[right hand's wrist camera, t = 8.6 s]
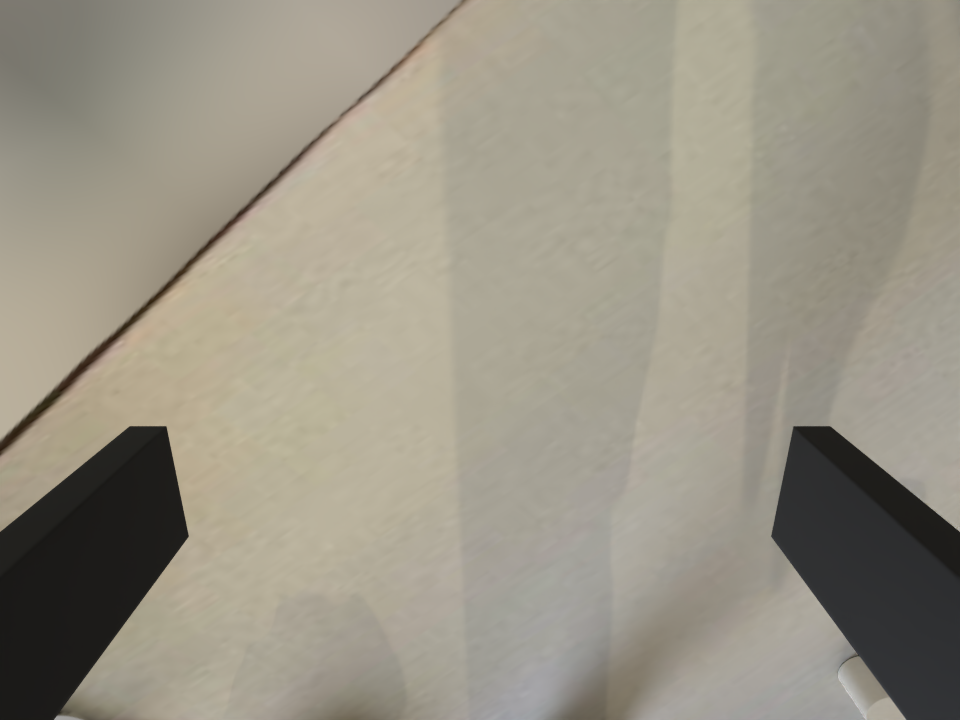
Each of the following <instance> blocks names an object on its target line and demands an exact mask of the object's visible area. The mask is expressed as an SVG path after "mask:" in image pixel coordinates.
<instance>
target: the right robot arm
mask: <svg viewBox="0 0 960 720" xmlns="http://www.w3.org/2000/svg"><path fill="white" fill-rule="evenodd" d="M188 537H189V535H188V531H187V526H186V521H185V516H184V511H183V506H182V501H181V496H180V491H179V486H178V481H177V476H176V471H175V466H174V462H173V457H172V452H171V447H170V442H169V437H168V432H167V427H166V426H130V427H128V428H127V429H126V430H125V431H124V432H122V433H121V434H120V435H119V436H117V437H116V438H115V439H114V440H112V441H111V442H110V443H109V444H108V445H106V446H105V447H104V448H103V449H101V450H100V451H99V452H98V453H97V454H95V455H94V456H93V457H92V458H90V459H89V460H88V461H87V462H85V463H84V464H83V465H82V466H81V467H79V468H78V469H77V470H76V471H74V472H73V473H72V474H71V475H70V476H68V477H67V478H66V479H65V480H63V481H62V482H61V483H60V484H59V485H57V486H56V487H55V488H54V489H52V490H51V491H50V492H49V493H47V494H46V495H45V496H44V497H43V498H41V499H40V500H39V501H38V502H36V503H35V504H34V505H33V506H32V507H30V508H29V509H28V510H27V511H25V512H24V513H23V514H22V515H20V516H19V517H18V518H17V519H16V520H14V521H13V522H12V523H11V524H9V525H8V526H7V527H6V528H5V529H3V530H2V531H1V532H0V720H54V719H55V717H56V716H57V715H58V713H59V712H60V711H61V709H62V708H63V707H64V705H65V704H66V702H67V701H68V700H69V698H70V697H71V696H72V694H73V693H74V692H75V690H76V689H77V688H78V686H79V685H80V683H81V682H82V681H83V679H84V678H85V677H86V675H87V674H88V673H89V671H90V670H91V669H92V667H93V666H94V664H95V663H96V662H97V660H98V659H99V658H100V656H101V655H102V654H103V652H104V651H105V650H106V648H107V647H108V645H109V644H110V643H111V641H112V640H113V639H114V637H115V636H116V635H117V633H118V632H119V630H120V629H121V628H122V626H123V625H124V624H125V622H126V621H127V620H128V618H129V617H130V616H131V614H132V613H133V611H134V610H135V609H136V607H137V606H138V605H139V603H140V602H141V601H142V599H143V598H144V597H145V595H146V594H147V592H148V591H149V590H150V588H151V587H152V586H153V584H154V583H155V582H156V580H157V579H158V578H159V576H160V575H161V573H162V572H163V571H164V569H165V568H166V567H167V565H168V564H169V563H170V561H171V560H172V559H173V557H174V556H175V554H176V553H177V552H178V550H179V549H180V548H181V546H182V545H183V544H184V542H185V541H186V539H187V538H188ZM771 537H772V538H773V539H774V541H775V542H776V544H777V545H778V546H779V548H780V549H781V550H782V552H783V553H784V554H785V556H786V557H787V559H788V560H789V561H790V563H791V564H792V565H793V567H794V568H795V569H796V571H797V572H798V573H799V575H800V576H801V578H802V579H803V580H804V582H805V583H806V584H807V586H808V587H809V588H810V590H811V591H812V592H813V594H814V595H815V597H816V598H817V599H818V601H819V602H820V603H821V605H822V606H823V607H824V609H825V610H826V611H827V613H828V614H829V616H830V617H831V618H832V620H833V621H834V622H835V624H836V625H837V626H838V628H839V629H840V630H841V632H842V633H843V635H844V636H845V637H846V639H847V640H848V641H849V643H850V644H851V645H852V647H853V648H854V650H855V651H856V652H857V654H858V655H859V656H860V658H861V659H862V660H863V662H864V663H865V664H866V666H867V667H868V669H869V670H870V671H871V673H872V674H873V675H874V677H875V678H876V679H877V681H878V682H879V683H880V685H881V686H882V688H883V689H884V690H885V692H886V693H887V694H888V696H889V697H890V698H891V700H892V701H893V702H894V704H895V705H896V707H897V708H898V709H899V711H900V712H901V713H902V715H903V716H904V717H905V719H906V720H960V532H959V531H958V530H957V529H955V528H954V527H953V526H952V525H951V524H949V523H948V522H947V521H946V520H944V519H943V518H942V517H941V516H940V515H938V514H937V513H936V512H935V511H933V510H932V509H931V508H930V507H928V506H927V505H926V504H925V503H924V502H922V501H921V500H920V499H919V498H917V497H916V496H915V495H914V494H913V493H911V492H910V491H909V490H908V489H906V488H905V487H904V486H903V485H901V484H900V483H899V482H898V481H897V480H895V479H894V478H893V477H892V476H890V475H889V474H888V473H887V472H886V471H884V470H883V469H882V468H881V467H879V466H878V465H877V464H876V463H875V462H873V461H872V460H871V459H870V458H868V457H867V456H866V455H865V454H863V453H862V452H861V451H860V450H859V449H857V448H856V447H855V446H854V445H852V444H851V443H850V442H849V441H848V440H846V439H845V438H844V437H843V436H841V435H840V434H839V433H838V432H836V431H835V430H834V429H833V428H832V427H830V426H794V427H793V432H792V437H791V442H790V447H789V452H788V457H787V462H786V466H785V471H784V476H783V481H782V486H781V491H780V496H779V501H778V506H777V511H776V516H775V521H774V526H773V530H772V535H771Z"/></svg>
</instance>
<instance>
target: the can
mask: <svg viewBox="0 0 960 720" xmlns="http://www.w3.org/2000/svg"><path fill="white" fill-rule="evenodd" d="M838 677H839V680H840V682H841V683H842V685H843V686H844V688H845V689H846V691H847V692H848V694H849V695H850V697H851V698H852V700H853V701H854V703H855V704H856V706H857V707H858V709H859V710H860V712H861V713H862V715H863V716H864V718H865V719H866V720H906V719H905V717H904V716H903V715H902V713H901V712H900V711H899V709H898V708H897V707H896V705H895V704H894V702H893V701H892V700H891V698H890V697H889V696H888V694H887V693H886V692H885V690H884V689H883V688H882V686H881V685H880V683H879V682H878V681H877V679H876V678H875V677H874V675H873V674H872V673H871V671H870V670H869V669H868V667H867V666H866V664H865V663H864V662H863V660H862V659H861V658H860V656H857V657H853V658H851V659H849V660H847V661H846V662H845V663H843V664H842V666H841V667H840V669H839V671H838Z"/></svg>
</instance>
